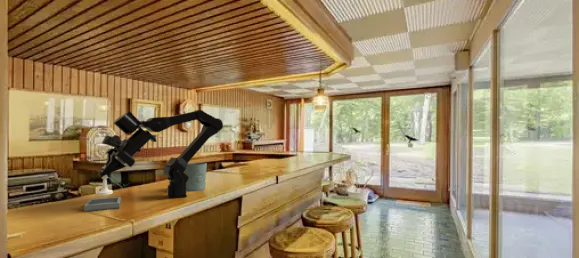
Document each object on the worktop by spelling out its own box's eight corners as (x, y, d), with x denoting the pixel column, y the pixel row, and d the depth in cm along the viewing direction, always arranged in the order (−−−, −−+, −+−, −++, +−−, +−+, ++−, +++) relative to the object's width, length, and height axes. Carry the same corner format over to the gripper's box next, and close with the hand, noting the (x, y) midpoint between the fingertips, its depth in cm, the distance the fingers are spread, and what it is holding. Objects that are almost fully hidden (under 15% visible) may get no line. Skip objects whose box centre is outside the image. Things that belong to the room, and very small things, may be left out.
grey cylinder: (202, 191, 126) (202, 164, 126) (179, 191, 127) (180, 164, 127) (209, 187, 136) (209, 162, 137) (188, 186, 137) (188, 162, 137)
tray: (120, 202, 106) (120, 196, 106) (119, 208, 97) (119, 202, 97) (88, 204, 101) (89, 199, 101) (84, 212, 93) (84, 205, 93)
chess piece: (101, 192, 102) (102, 164, 102) (115, 192, 102) (116, 164, 102) (92, 195, 97) (93, 166, 97) (107, 195, 97) (108, 166, 97)
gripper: (112, 127, 109) (76, 157, 101) (124, 127, 95) (84, 162, 88) (134, 147, 114) (102, 177, 107) (149, 149, 101) (113, 184, 93)
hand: (100, 175), depth 99 cm, fingers closed on chess piece
